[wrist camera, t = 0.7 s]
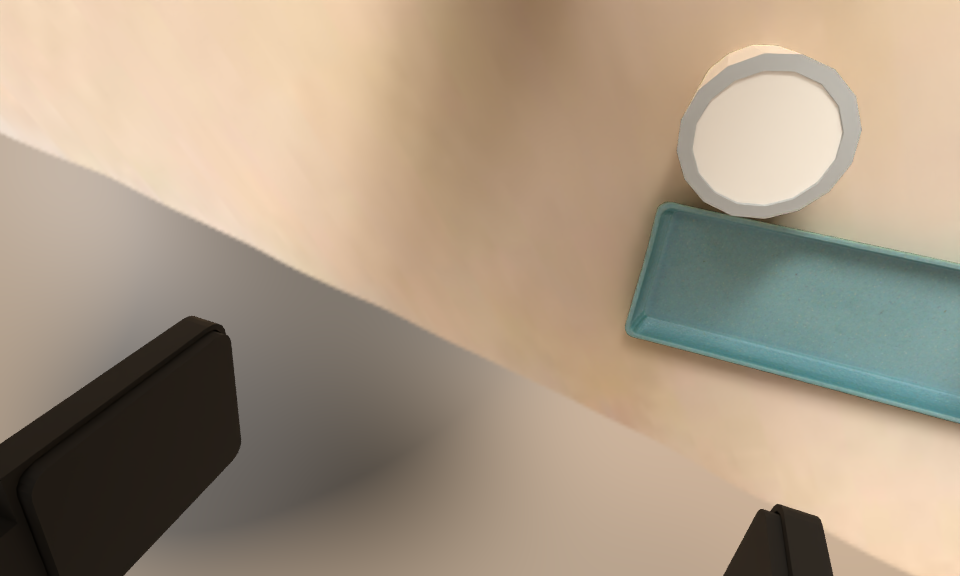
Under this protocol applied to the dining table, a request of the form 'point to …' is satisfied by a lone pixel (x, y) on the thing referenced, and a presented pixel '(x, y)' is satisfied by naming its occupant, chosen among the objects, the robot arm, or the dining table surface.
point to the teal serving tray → (803, 307)
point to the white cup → (767, 132)
